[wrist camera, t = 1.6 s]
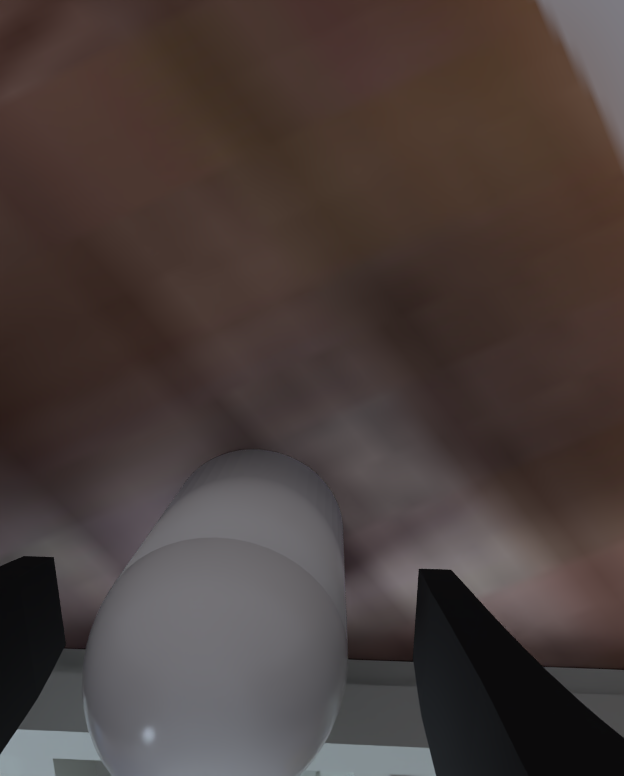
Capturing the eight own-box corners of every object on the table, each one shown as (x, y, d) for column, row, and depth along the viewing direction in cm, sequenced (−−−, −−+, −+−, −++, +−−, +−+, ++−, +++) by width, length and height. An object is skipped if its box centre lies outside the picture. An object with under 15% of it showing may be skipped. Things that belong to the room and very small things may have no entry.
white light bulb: (341, 607, 13) (349, 912, 7) (177, 601, 13) (39, 894, 7) (345, 450, 12) (358, 643, 6) (166, 447, 12) (-8, 630, 6)
